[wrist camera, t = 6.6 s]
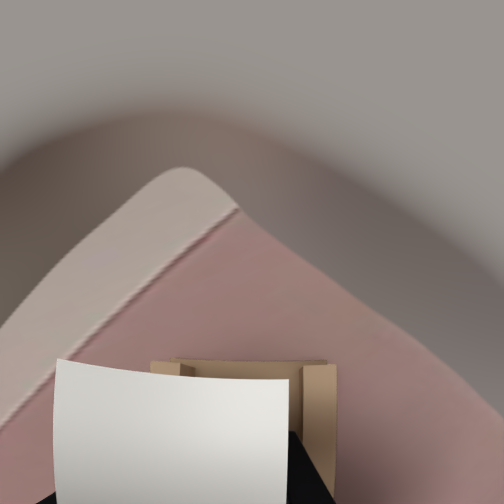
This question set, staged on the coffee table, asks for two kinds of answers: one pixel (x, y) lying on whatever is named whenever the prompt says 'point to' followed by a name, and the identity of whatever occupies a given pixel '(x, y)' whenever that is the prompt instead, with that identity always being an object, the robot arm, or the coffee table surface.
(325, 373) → the slot holder
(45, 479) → the coffee table surface
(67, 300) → the coffee table surface
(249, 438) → the white rectangular box
